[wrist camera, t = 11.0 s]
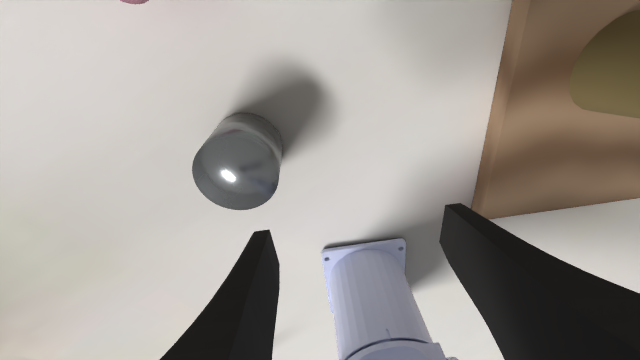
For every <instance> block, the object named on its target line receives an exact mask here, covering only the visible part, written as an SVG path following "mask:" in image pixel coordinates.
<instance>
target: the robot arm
mask: <svg viewBox="0 0 640 360" xmlns="http://www.w3.org/2000/svg"><path fill="white" fill-rule="evenodd" d="M439 242H440V244H441V246H442V249H443V251H444V253H445V255H446V258H447V260H448V262H449V264H450V266H451V267H452V269H453V270H454V272H455V274H456V275H457V277H458V279H459V280H460V282H461V283H462V285H463V287H464V288H465V290H466V291H467V293H468V295H469V296H470V298H471V299H472V301H473V302H474V304H475V306H476V307H477V309H478V310H479V312H480V314H481V315H482V317H483V319H484V320H485V322H486V324H487V326H488V327H489V329H490V331H491V333H492V335H493V337H494V339H495V341H496V343H497V345H498V347H499V349H500V351H501V353H502V355H503V357H504V359H505V360H640V293H637V292H634V291H632V290H629V289H627V288H624V287H622V286H619V285H617V284H614V283H612V282H609V281H607V280H604V279H602V278H599V277H597V276H595V275H592V274H590V273H588V272H586V271H583V270H581V269H579V268H577V267H575V266H573V265H570V264H568V263H566V262H564V261H562V260H560V259H558V258H556V257H554V256H552V255H550V254H548V253H546V252H544V251H542V250H540V249H538V248H536V247H535V246H533V245H531V244H529V243H527V242H525V241H524V240H522V239H520V238H518V237H516V236H515V235H513V234H511V233H510V232H508V231H506V230H504V229H503V228H501V227H499V226H498V225H496V224H494V223H493V222H491V221H489V220H488V219H486V218H485V217H483V216H481V215H480V214H478V213H476V212H475V211H473V210H471V209H470V208H468V207H466V206H465V205H463V204H461V203H457V204H450V205H445V211H444V217H443V223H442V229H441V235H440V241H439ZM399 247H401V248H399ZM321 257H322V263H323V269H324V275H325V281H326V287H327V293H328V299H329V304H330V310H331V312H332V313H333V314H334V322H335V331H336V339H337V347H338V356H339V360H458V359H457V358H456V357H448V358H446V357H445V355H444V353H443V351H442V348H441V346H440V344H439V343H433V342H432V339H431V337H430V335H429V332H428V330H427V327H426V325H425V323H424V320H423V318H422V315H421V313H420V311H419V308H418V306H417V304H416V301H415V299H414V296H413V294H412V292H411V289H410V287H409V284H408V282H407V280H406V277H405V258H406V242H405V240H404V239H402V238H399V239H392V240H385V241H378V242H371V243H364V244H357V245H350V246H343V247H335V248H328V249H324V250H322V251H321ZM326 257H329V258H326ZM278 296H279V261H278V258H277V254H276V251H275V247H274V244H273V240H272V237H271V233H270V230H263V231H256V232H254V233H253V234H252V236H251V238H250V240H249V242H248V243H247V245H246V247H245V249H244V250H243V252H242V254H241V255H240V257H239V259H238V261H237V262H236V264H235V265H234V267H233V268H232V270H231V272H230V273H229V275H228V276H227V278H226V279H225V281H224V282H223V284H222V285H221V287H220V288H219V289H218V291H217V292H216V294H215V295H214V297H213V298H212V299H211V301H210V302H209V303H208V305H207V306H206V307H205V309H204V310H203V311H202V312H201V314H200V315H199V316H198V317H197V319H196V320H195V321H194V322H193V323H192V325H191V326H190V327H189V328H188V329H187V330H186V331H185V333H184V334H183V335H182V336H181V337H180V338H179V339H178V341H177V342H176V343H175V344H174V345H173V346H172V347H171V348H170V349H169V350H168V351H167V352H166V354H165V355H164V356H163V357H162V358H161V359H160V360H272V350H273V339H274V331H275V322H276V314H277V305H278Z"/></svg>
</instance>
